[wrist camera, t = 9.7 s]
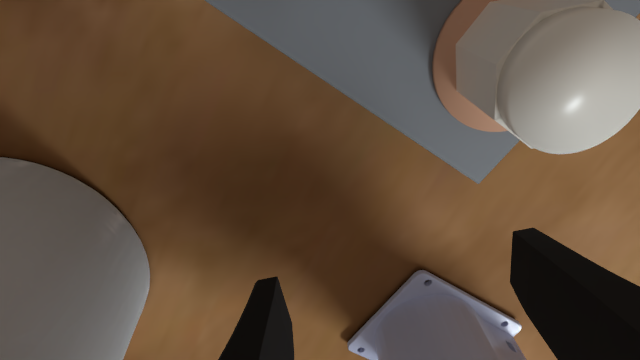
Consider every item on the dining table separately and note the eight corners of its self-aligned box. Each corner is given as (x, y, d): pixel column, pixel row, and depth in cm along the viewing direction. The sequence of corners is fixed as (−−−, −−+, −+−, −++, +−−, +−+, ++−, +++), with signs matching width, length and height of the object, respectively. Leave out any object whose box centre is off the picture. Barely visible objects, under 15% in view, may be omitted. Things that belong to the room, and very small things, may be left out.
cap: (574, -15, 17) (673, -7, 13) (562, 100, 19) (642, 141, 15) (454, 8, 17) (511, 24, 13) (456, 120, 20) (505, 166, 15)
